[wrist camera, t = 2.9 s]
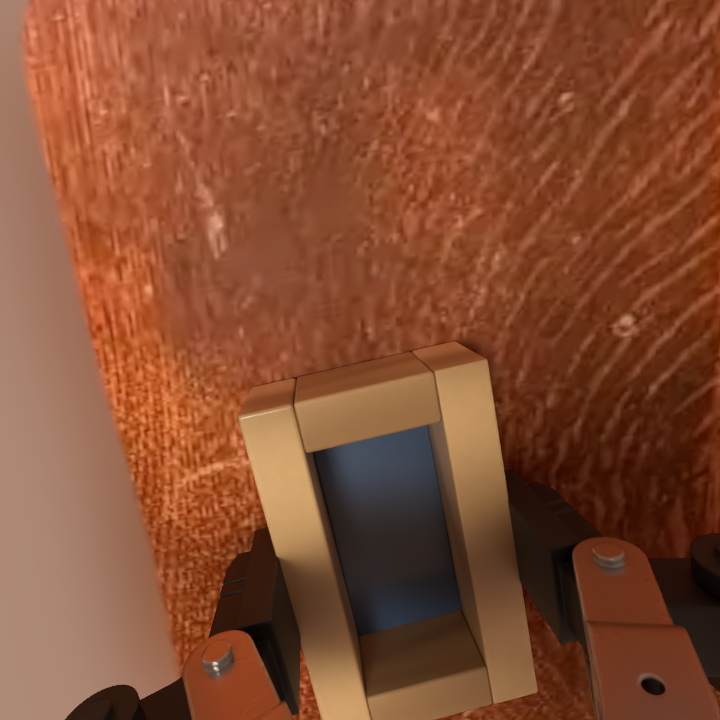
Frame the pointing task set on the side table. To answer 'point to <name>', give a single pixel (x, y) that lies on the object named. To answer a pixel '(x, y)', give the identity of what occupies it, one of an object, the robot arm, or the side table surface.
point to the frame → (394, 533)
